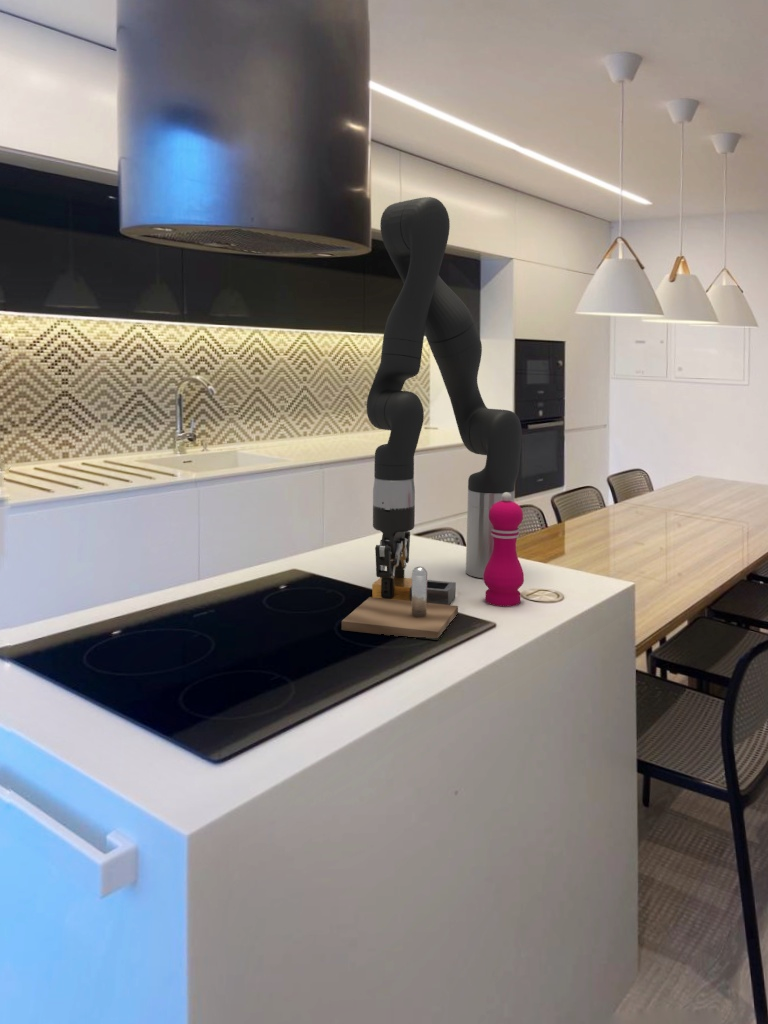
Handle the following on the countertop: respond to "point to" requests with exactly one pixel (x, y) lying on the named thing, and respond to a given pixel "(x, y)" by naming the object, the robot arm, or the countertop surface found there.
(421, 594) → the post
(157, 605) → the countertop surface
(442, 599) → the link
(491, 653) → the countertop surface
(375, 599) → the board
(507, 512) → the pepper mill
